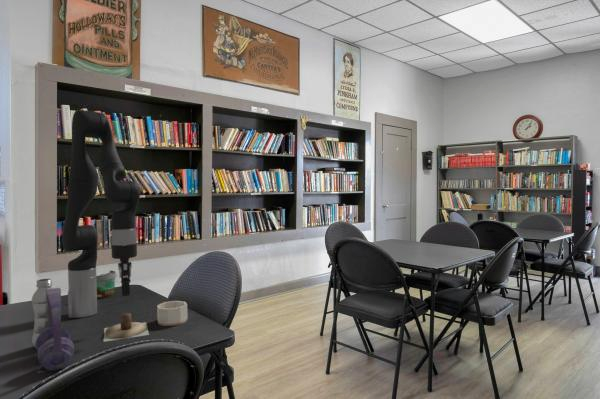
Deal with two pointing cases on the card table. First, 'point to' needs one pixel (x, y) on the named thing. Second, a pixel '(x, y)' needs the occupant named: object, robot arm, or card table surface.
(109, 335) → the lid
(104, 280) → the food container
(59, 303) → the headphones
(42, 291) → the plastic bottle
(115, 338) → the mat
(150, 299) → the card table surface
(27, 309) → the card table surface
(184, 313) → the cup
